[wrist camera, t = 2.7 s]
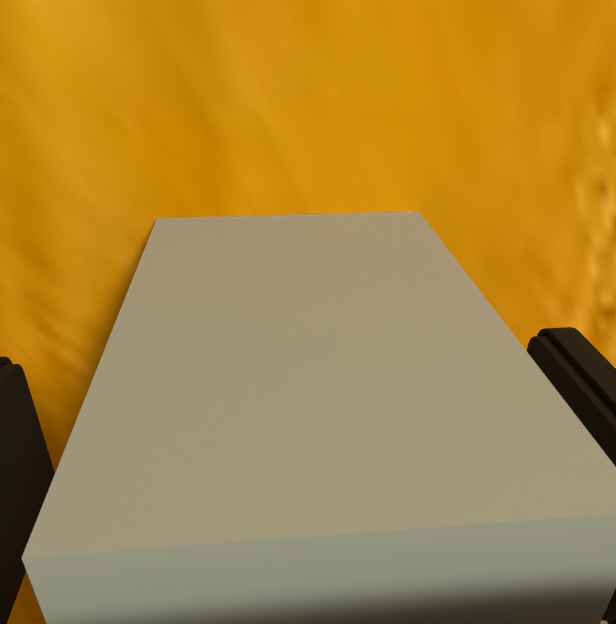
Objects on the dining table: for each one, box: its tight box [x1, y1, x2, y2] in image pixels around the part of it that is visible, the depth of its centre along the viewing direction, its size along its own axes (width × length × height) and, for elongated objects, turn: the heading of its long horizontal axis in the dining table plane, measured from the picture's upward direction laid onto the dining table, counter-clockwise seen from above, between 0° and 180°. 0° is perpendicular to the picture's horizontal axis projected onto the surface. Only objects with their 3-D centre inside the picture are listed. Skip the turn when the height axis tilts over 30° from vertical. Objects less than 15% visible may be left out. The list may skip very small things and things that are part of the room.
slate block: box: [22, 212, 616, 624], centre depth 10 cm, size 6×6×8 cm
